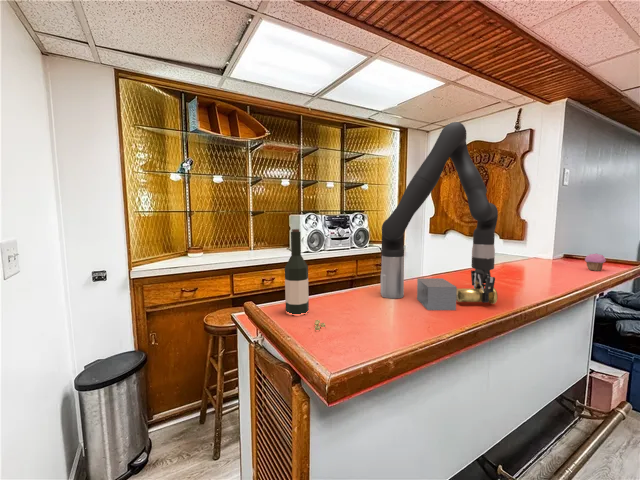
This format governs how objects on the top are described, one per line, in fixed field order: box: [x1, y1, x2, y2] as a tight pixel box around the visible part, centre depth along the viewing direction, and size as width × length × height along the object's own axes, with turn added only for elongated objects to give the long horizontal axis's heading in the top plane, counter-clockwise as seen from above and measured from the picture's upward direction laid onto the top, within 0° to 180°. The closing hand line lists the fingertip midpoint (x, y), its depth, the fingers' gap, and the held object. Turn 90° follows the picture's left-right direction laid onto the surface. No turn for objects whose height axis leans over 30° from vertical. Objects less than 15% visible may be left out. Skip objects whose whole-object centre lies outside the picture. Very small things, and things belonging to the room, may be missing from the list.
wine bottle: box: [284, 228, 310, 314], centre depth 106 cm, size 8×8×30 cm
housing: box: [416, 277, 458, 311], centre depth 114 cm, size 10×14×9 cm
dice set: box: [314, 319, 326, 331], centre depth 92 cm, size 5×5×2 cm
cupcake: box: [584, 253, 607, 272], centre depth 173 cm, size 9×9×10 cm
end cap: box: [456, 287, 498, 305], centre depth 113 cm, size 13×6×6 cm, turn 87°
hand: (481, 300), depth 113 cm, fingers closed on end cap, 5 cm apart
